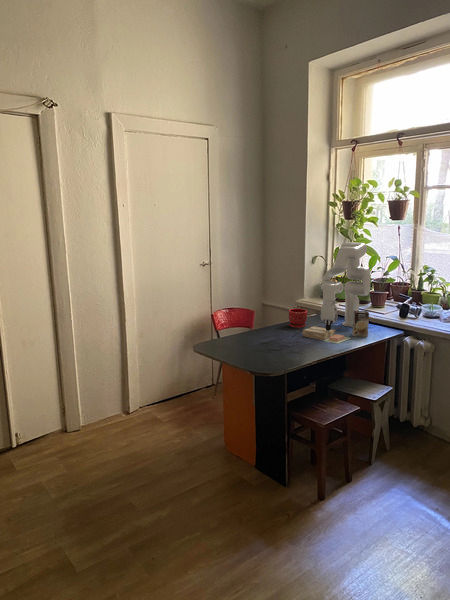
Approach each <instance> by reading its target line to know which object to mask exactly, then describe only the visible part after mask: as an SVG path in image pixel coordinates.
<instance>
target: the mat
mask: <svg viewBox="0 0 450 600" xmlns="http://www.w3.org/2000/svg"><path fill="white" fill-rule="evenodd" d="M351 338H352V337H348V336H345V339H343V340H341V341H338V342H335V341H331V340H329V338H328V339H325V340H322V341H323V342H327V343H332V344H337V345H340V344H341V343H344V342H346V341H348V340H350V339H351Z"/></svg>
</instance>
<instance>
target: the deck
mask: <svg viewBox="0 0 450 600" xmlns="http://www.w3.org/2000/svg"><path fill="white" fill-rule="evenodd" d="M333 335H336V329H334V328H333V329H332V328H331V330H329V331H327V330H326V327H323V326H322V327H320V326H314V325H313V326H310V327H308V328H305V329H302V337H307V338H311V339H315V340H321V341H323V340H325V339H328V338H329V337H331V336H333Z"/></svg>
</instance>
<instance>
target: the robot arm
mask: <svg viewBox="0 0 450 600" xmlns="http://www.w3.org/2000/svg"><path fill="white" fill-rule="evenodd" d="M367 250H368V246H367V244H366V243H364V242H352V241H351V242H350V241H348V242H347V241H346V242H343V243H341V246H340V248H338V250H337V251H338V252H337V253H336V257H335V260H334V264H333V265H332V267H331V268H329V269H328V270H327V271H326V272H325V273H324V275H323V278H322V281H321V285H320V288H321V291H322V292H323V293H322V304H321V310H320V321H322V322H323V323H324V325H325V328H326V330H327V331H329V330H331V329H332V325H333V324H334V323H337V320H338V308H337V301H336V294H341V293H342V292H343V291H344V294H345V295H344V297H345V300H344V301H345V303H344V304H345V305H344V321H343V322H342V326H345V327H349V328H352V327H353V311H360V299H359V297H358V296H361V297H366V296H369V295H370V291H371V270H370V268H369V267H368V266H361V265H360V263H361V262H360V261H361V260H360V259H361V258H362V257H363V256H364V255H366V253H367ZM345 272H346V277H347V279H349V280H353V281H346V282H345V284H343V283H342V282H341V281H332V280H331V279H332V278H333V277H334V276H336V275H340V274H342V273H345Z"/></svg>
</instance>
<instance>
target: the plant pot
mask: <svg viewBox="0 0 450 600" xmlns="http://www.w3.org/2000/svg"><path fill="white" fill-rule="evenodd" d="M288 319H289V323H288V324H289V326H290V327H291V328H295V329H301V328H304V327H305V326H306V322H307V319H308V310H307V309H304V308H290V309H288Z"/></svg>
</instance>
